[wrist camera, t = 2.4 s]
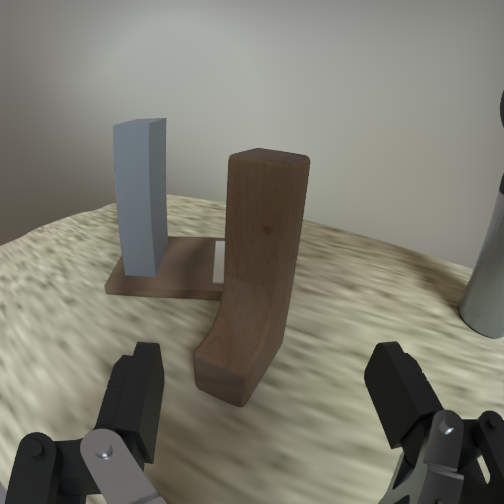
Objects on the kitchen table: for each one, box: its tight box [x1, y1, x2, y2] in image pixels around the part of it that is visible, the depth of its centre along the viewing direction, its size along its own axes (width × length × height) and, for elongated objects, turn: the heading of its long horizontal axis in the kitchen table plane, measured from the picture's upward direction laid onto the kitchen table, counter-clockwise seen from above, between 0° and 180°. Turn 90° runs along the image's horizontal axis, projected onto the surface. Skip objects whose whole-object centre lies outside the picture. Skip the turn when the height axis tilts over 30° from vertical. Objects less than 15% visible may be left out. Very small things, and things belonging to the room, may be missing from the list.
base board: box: [105, 236, 225, 300], centre depth 41 cm, size 22×14×1 cm, turn 94°
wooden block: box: [193, 148, 310, 407], centre depth 22 cm, size 9×4×18 cm, turn 155°
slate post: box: [113, 118, 168, 277], centre depth 36 cm, size 4×9×18 cm, turn 4°
